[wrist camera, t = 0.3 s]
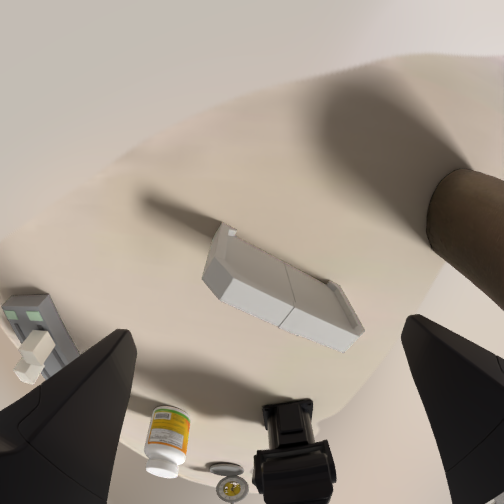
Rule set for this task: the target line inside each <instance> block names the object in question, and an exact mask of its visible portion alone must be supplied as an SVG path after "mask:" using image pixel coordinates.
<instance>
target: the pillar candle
mask: <svg viewBox="0 0 504 504" xmlns="http://www.w3.org/2000/svg"><path fill="white" fill-rule="evenodd" d="M427 236H428V239H429V241H430V243H431V245H432V248H433V250H434V251H435V252H436V253H437V254H438V255H439V256H440V257H441V258H443V259H444V260H445V261H446V262H448V263H449V264H450V265H451V266H453V267H454V268H455V269H456V270H458V271H459V272H460V273H461V274H463V275H464V276H465V277H466V278H467V279H469V280H470V281H471V282H472V283H473V284H474V285H475V286H477V287H478V288H479V289H480V290H482V291H483V292H484V293H485V294H486V295H487V296H488V297H489V298H491V299H492V300H493V301H494V302H495V303H496V304H497V305H498V306H499V307H500V308H501V309H502V310H504V181H503V180H501V179H498V178H496V177H493V176H489V175H486V174H483V173H481V172H477V171H473V170H468V169H458V170H455V171H453V172H452V173H450V174H449V175H447V176H446V177H445V178H444V179H443V180H442V181H441V182H440V183H439V185H438V186H437V188H436V190H435V192H434V194H433V196H432V199H431V201H430V204H429V209H428V215H427Z"/></svg>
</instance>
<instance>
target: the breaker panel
mask: <svg viewBox="0 0 504 504" xmlns="http://www.w3.org/2000/svg"><path fill="white" fill-rule="evenodd" d="M1 307H2V309H3V311H4V313H5V315H6V317H7V319H8V321H9V322H10V324H11V326H12V328H13V330H14V332H15V333H16V335H17V337H18V339H19V340H20V342H21V344H22V343H23V342H24V341H25V339H26V338H27V337H28V336H29V334H30V333H31V332H32V330H40V331H48V333H49V334H50V336H51V338H52V340H53V341H54V343H55V347H54V348H53V350H52V351H51V353H50V354H49V356H48V357H47V359H46V360H45V362H44V363H43V364H44V365H45V367H44V368H43V370H42V372H41V374H42V376H43V377H44V378H45V380H47V379H48V378H50V377H51V376H52V375H54V374H55V373H56V372H58V371H59V370H61V369H62V368H63V367H65V366H66V365H67V364H69V363H70V362H72V361H73V360H74V359H76V358H77V357H79V356H80V354H79V352H78V350H77V348H76V347H75V345H74V343H73V341H72V340H71V338H70V336H69V334H68V332H67V330H66V328H65V326H64V324H63V322H62V320H61V318H60V316H59V314H58V312H57V310H56V308H55V306H54V304H53V302H52V299H51V297H50V295H49V294H44V295H19V296H11V297H10V298H9V299H8V300H7V301H6V302H5V303H4V304H3V305H2V306H1Z"/></svg>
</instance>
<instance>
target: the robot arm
mask: <svg viewBox="0 0 504 504" xmlns="http://www.w3.org/2000/svg"><path fill="white" fill-rule="evenodd" d="M401 341H402V345H403V348H404V351H405V354H406V357H407V360H408V364H409V367H410V371H411V373H412V376H413V379H414V382H415V385H416V387H417V389H418V392H419V395H420V397H421V400H422V403H423V405H424V407H425V411H426V413H427V416H428V419H429V422H430V424H431V428H432V431H433V434H434V437H435V439H436V443H437V446H438V449H439V452H440V456H441V459H442V463H443V466H444V470H445V474H446V478H447V482H448V486H449V490H450V495H451V499H452V504H485V503H487V502H488V501H490V500H492V499H494V500H495V501H494V502H493V503H492V504H504V359H502V358H501V357H499V356H496V355H495V354H493V353H491V352H490V351H488V350H486V349H484V348H482V347H480V346H478V345H477V344H475V343H473V342H471V341H469V340H467V339H466V338H464V337H462V336H460V335H458V334H456V333H454V332H452V331H450V330H449V329H447V328H445V327H443V326H441V325H439V324H437V323H435V322H433V321H431V320H429V319H428V318H426V317H424V316H422V315H420V314H415V315H410V316H408V317H407V319H406V322H405V325H404V328H403V331H402V334H401ZM136 358H137V349H136V346H135V343H134V340H133V338H132V335H131V332H130V331H129V330H127V329H116V330H115V331H113V332H112V333H111V334H109V335H108V336H106V337H105V338H104V339H102V340H101V341H99V342H98V343H97V344H95V345H94V346H92V347H91V348H90V349H88V350H87V351H85V352H84V353H83V354H81V355H80V356H79V357H77V358H76V359H74V360H73V361H72V362H70V363H69V364H67V365H66V366H65V367H63V368H62V369H61V370H59V371H58V372H56V373H55V374H54V375H52V376H51V377H50V378H48V379H47V380H45V381H44V382H43V383H42V384H41V385H39V386H37V387H36V388H35V389H33V390H32V391H31V392H29V393H28V394H26V395H25V396H24V397H22V398H20V399H19V400H17V401H16V402H14V403H13V404H11V405H9V406H8V407H6V408H4V409H3V410H2V411H0V504H107V498H108V492H109V486H110V481H111V475H112V470H113V465H114V460H115V455H116V451H117V446H118V442H119V438H120V433H121V429H122V425H123V421H124V417H125V413H126V409H127V405H128V402H129V398H130V393H131V388H132V381H133V375H134V369H135V363H136ZM262 409H263V416H264V422H265V429H266V430H268V437H269V450H257V455H255V456H254V470H253V477H252V484H254V485H255V486H256V487H257V489H258V492H259V494H263V496H264V501H265V503H266V504H328V503H329V501H330V499H331V496H332V492H333V485H332V483H336V470H335V464H334V461H333V457H332V454H331V451H330V448H329V444H328V441H327V440H323V441H321V442H316V443H315V440H314V435H313V430H312V425H311V420H312V411H313V401H312V400H306V401H299V402H292V403H284V404H276V405H266V406H263V408H262Z"/></svg>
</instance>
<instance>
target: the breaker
mask: <svg viewBox="0 0 504 504" xmlns="http://www.w3.org/2000/svg"><path fill="white" fill-rule="evenodd" d="M54 347H55V343H54V341H53V340H52V338H51V336H50V334H49V333H48V331H40V330H32V332H31V333H30V334H29V336H28V337H27V338H26V339H25V341H24V342H23V343H22V345H21V346H20V347H19V349H18V351H19V352H20V354H21V355H22V357H23V358H24V360H25V361H26V363H28V364H33V365H38V366H42V365H43V363H44V362H45V360H46V359H47V357H48V356H49V354H50V353H51V351H52V350H53V348H54Z"/></svg>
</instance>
